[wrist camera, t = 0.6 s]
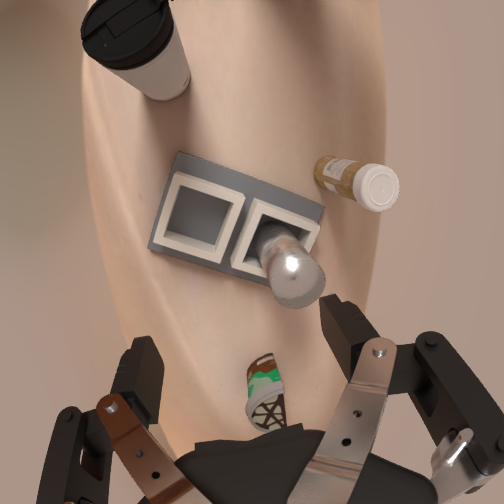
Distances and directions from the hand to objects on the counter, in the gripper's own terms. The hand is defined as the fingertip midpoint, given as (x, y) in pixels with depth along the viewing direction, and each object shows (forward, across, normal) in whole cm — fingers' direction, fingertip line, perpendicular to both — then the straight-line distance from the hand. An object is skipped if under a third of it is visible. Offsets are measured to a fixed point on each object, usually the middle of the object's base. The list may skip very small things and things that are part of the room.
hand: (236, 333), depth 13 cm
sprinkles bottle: (+26, -15, -1) cm, 30 cm away
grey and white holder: (+26, -1, +3) cm, 26 cm away
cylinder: (+26, -6, +6) cm, 27 cm away
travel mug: (+26, +3, -18) cm, 32 cm away
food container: (+26, +1, +30) cm, 40 cm away
